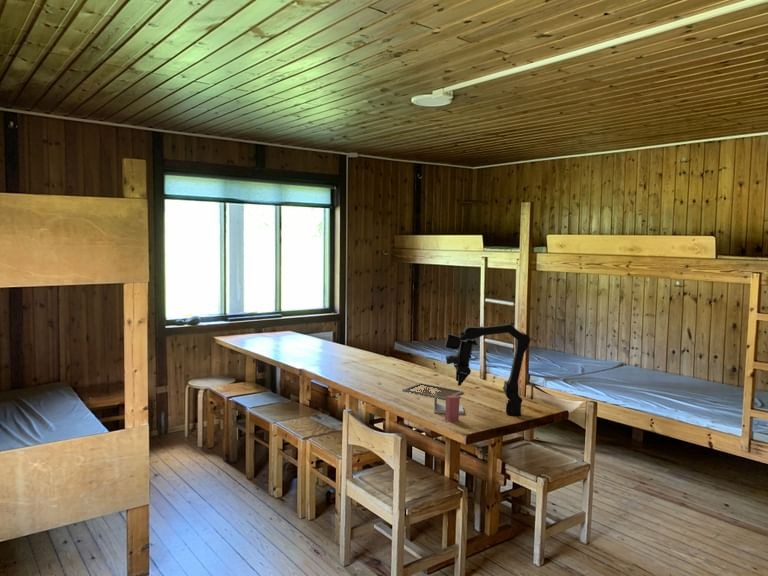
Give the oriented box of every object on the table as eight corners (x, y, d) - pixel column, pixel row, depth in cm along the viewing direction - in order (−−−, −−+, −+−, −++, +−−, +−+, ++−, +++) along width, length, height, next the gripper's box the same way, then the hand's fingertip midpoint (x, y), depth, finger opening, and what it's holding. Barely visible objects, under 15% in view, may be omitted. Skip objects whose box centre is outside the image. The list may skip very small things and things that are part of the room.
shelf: (462, 407, 282) (462, 392, 282) (463, 414, 271) (464, 399, 270) (433, 405, 283) (434, 391, 283) (434, 412, 272) (434, 397, 271)
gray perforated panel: (420, 382, 325) (468, 392, 308) (419, 385, 325) (467, 395, 308) (402, 389, 309) (451, 399, 292) (402, 392, 309) (451, 402, 293)
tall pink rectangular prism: (454, 418, 264) (455, 395, 264) (458, 420, 261) (459, 397, 260) (445, 419, 262) (446, 395, 262) (448, 421, 259) (450, 397, 258)
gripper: (447, 344, 283) (440, 375, 284) (450, 352, 264) (443, 384, 265) (469, 349, 282) (462, 379, 284) (474, 357, 264) (466, 389, 265)
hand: (458, 383), depth 274 cm, fingers open, 9 cm apart
